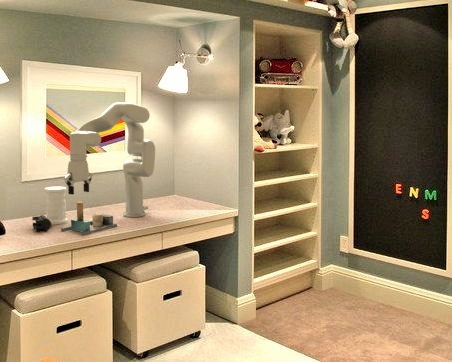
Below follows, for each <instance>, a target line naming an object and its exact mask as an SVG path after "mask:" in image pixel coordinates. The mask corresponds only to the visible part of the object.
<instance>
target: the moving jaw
mask: <svg viewBox="0 0 452 362" xmlns="http://www.w3.org/2000/svg"><path fill="white" fill-rule="evenodd" d="M90 221H91V220H85V219H84V202H83V201H77V202H76V218H72V219H70V226H71V229H70V230H72V231H77V232H80V233H81V232H85V231H88V230H91V224H90Z"/></svg>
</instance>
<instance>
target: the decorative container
mask: <svg viewBox="0 0 452 362" xmlns="http://www.w3.org/2000/svg"><path fill="white" fill-rule="evenodd" d="M66 191H67V186H48V187H44V192H45V199H46V200H45V204H46V206H45V209H46V214H45V216H46V217H47V218H48V219H49V220H50V222H51V225H61V224H62V225H63V224H67V223H68V222H69V219H68V217H67V206H66V203H67V200H66V196H67V195H66Z"/></svg>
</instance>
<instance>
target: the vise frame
mask: <svg viewBox="0 0 452 362" xmlns="http://www.w3.org/2000/svg"><path fill="white" fill-rule="evenodd" d="M101 214H102V215H103V227H99V228H93V229H90V230H88V231H85V232H81V231H80V235H81V236H86V235H89V234H93V233H97V232H101V231H104V230H108V229H112V228H115V227H118V224H117V223H114V215H110V214H104V213H101ZM89 221H90V225H93V220H89ZM70 230H71V225H70V226H65V227H61V228H60V231H61V232H65V231H70Z"/></svg>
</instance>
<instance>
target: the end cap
mask: <svg viewBox="0 0 452 362" xmlns="http://www.w3.org/2000/svg"><path fill="white" fill-rule="evenodd" d="M31 221H35V222H32V227H33V228H32V230H33V231H34V232H35V233H45V232H47V231H48V230H50V229H51V226H52V224H51V222H50V220H49V219H48V218H47V215H44V214H40V215H38V216H32V220H31Z"/></svg>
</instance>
